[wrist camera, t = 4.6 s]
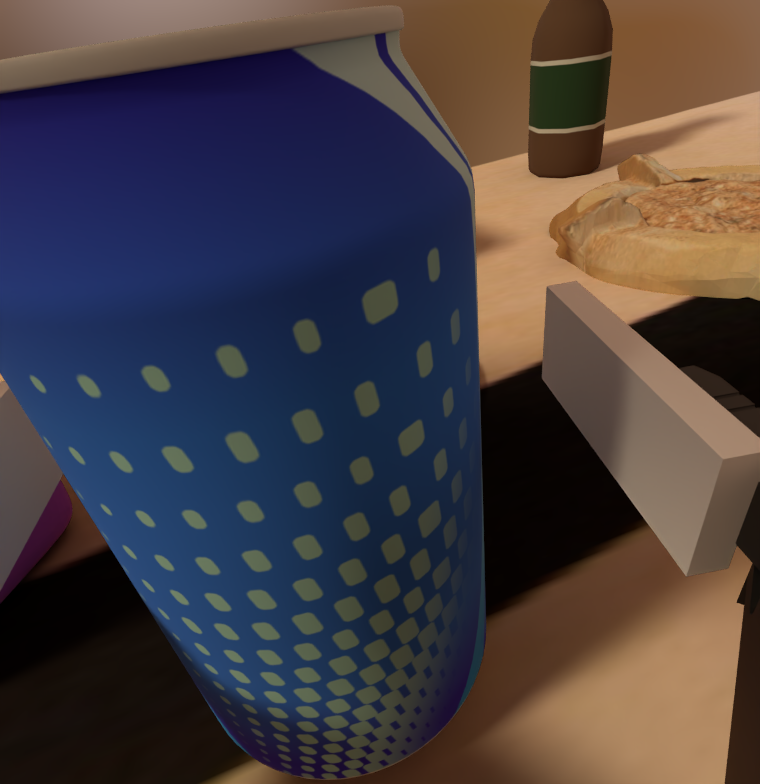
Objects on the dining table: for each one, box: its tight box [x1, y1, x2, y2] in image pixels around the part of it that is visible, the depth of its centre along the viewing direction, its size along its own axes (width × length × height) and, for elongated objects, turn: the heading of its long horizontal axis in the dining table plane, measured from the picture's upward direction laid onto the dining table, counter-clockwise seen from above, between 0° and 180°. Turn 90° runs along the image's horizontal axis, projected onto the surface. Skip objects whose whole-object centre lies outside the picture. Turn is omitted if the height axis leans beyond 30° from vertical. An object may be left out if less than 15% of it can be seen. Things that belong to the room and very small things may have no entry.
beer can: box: [0, 6, 486, 780], centre depth 12 cm, size 8×8×16 cm
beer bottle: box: [528, 0, 613, 178], centre depth 53 cm, size 8×8×24 cm
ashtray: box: [549, 153, 760, 300], centre depth 38 cm, size 24×24×5 cm
